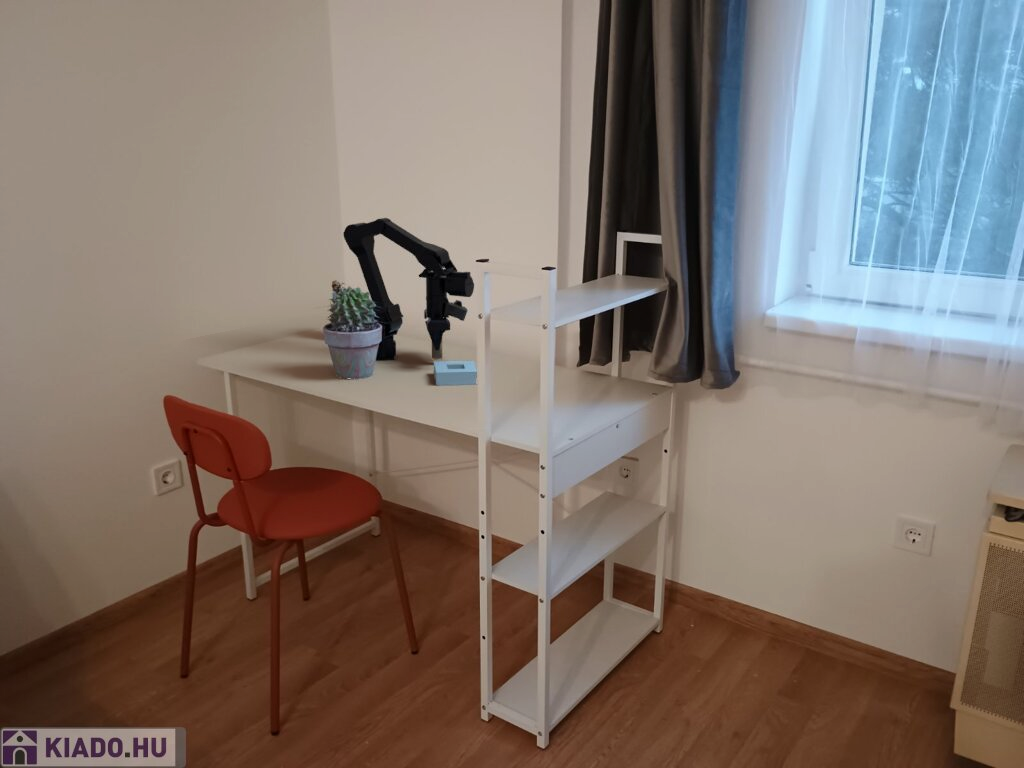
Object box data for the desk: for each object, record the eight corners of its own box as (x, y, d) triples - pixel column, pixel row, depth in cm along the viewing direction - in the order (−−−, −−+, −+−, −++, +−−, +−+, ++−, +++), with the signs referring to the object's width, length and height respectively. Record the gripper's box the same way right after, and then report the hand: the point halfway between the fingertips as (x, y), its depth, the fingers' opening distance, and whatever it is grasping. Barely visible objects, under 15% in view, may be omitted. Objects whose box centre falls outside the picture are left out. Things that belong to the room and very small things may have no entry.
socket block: (436, 385, 231) (436, 372, 230) (433, 374, 241) (433, 361, 240) (478, 384, 232) (478, 371, 232) (474, 373, 243) (474, 360, 242)
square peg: (432, 359, 249) (431, 327, 247) (431, 356, 252) (431, 325, 250) (442, 358, 250) (442, 327, 247) (442, 356, 253) (441, 325, 250)
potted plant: (379, 386, 229) (376, 291, 222) (309, 380, 233) (304, 286, 227) (403, 369, 246) (401, 279, 239) (337, 363, 250) (334, 275, 243)
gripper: (468, 300, 238) (468, 356, 243) (462, 287, 256) (462, 340, 260) (427, 300, 237) (427, 357, 241) (423, 288, 254) (424, 341, 259)
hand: (437, 348), depth 250 cm, fingers closed on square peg, 3 cm apart
